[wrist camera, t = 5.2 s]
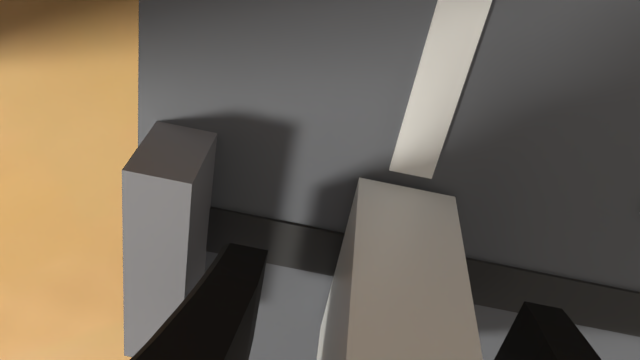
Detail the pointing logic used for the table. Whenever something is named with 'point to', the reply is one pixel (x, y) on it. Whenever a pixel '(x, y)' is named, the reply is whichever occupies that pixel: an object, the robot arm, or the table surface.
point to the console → (388, 153)
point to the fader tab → (400, 281)
